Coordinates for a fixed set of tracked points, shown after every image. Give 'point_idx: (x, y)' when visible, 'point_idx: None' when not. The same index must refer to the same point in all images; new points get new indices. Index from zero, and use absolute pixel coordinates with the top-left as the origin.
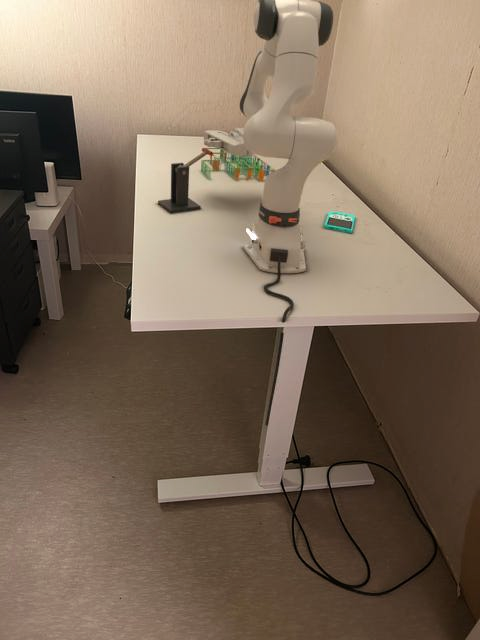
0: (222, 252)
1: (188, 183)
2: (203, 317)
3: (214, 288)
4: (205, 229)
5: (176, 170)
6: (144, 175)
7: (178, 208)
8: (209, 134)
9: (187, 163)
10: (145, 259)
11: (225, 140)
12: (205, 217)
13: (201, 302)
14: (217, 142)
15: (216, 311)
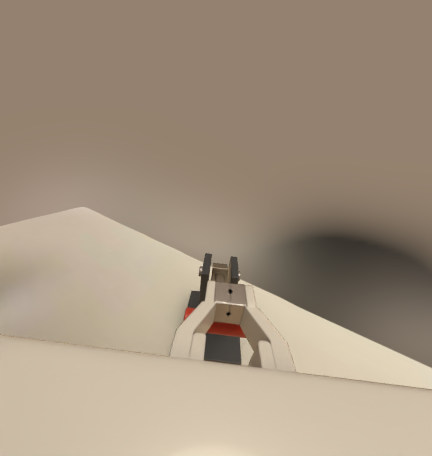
0: (44, 277)
1: (199, 301)
2: (33, 218)
3: (33, 236)
4: (106, 303)
5: (216, 263)
6: (421, 369)
7: (191, 304)
8: (386, 384)
9: (221, 278)
10: (124, 230)
11: (113, 361)
12: (137, 337)
13: (41, 224)
14: (183, 326)
15: (22, 224)
